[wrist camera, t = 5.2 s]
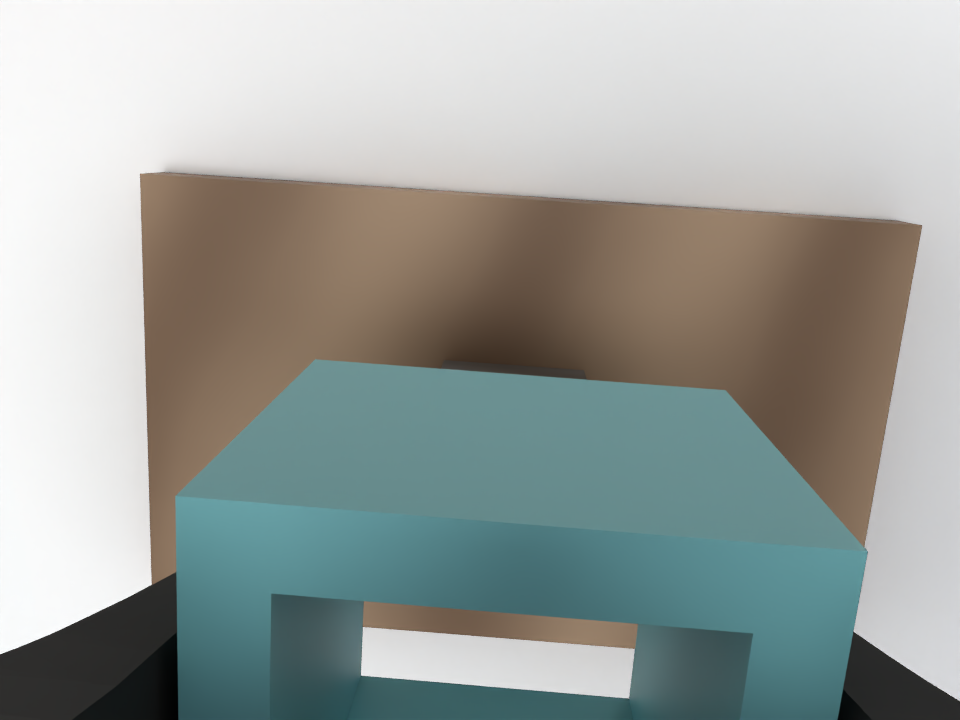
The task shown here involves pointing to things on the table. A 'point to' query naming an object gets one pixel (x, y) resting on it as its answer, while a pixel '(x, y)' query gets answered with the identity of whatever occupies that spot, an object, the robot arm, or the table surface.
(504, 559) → the teal collar
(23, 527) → the table surface
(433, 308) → the post stand
